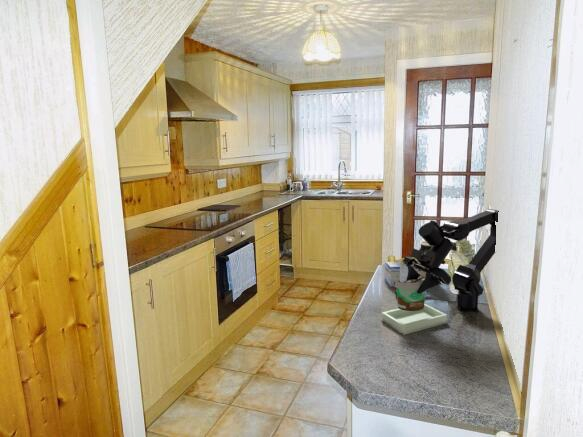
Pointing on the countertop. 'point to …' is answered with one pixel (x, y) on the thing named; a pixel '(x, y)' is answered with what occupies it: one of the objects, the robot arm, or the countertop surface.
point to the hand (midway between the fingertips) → (411, 290)
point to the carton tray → (414, 319)
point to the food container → (410, 294)
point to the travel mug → (423, 247)
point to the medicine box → (392, 273)
